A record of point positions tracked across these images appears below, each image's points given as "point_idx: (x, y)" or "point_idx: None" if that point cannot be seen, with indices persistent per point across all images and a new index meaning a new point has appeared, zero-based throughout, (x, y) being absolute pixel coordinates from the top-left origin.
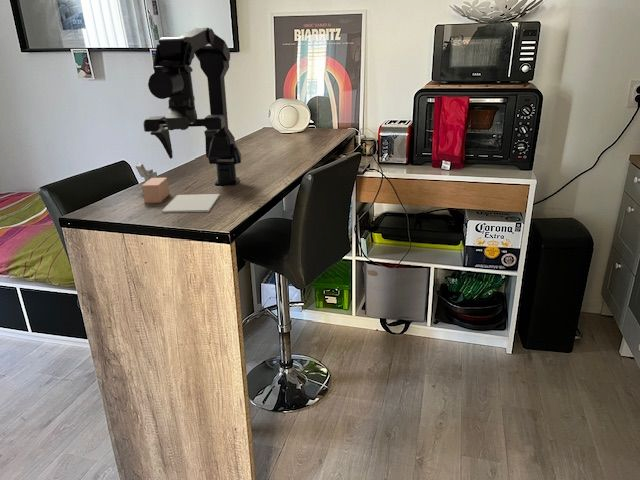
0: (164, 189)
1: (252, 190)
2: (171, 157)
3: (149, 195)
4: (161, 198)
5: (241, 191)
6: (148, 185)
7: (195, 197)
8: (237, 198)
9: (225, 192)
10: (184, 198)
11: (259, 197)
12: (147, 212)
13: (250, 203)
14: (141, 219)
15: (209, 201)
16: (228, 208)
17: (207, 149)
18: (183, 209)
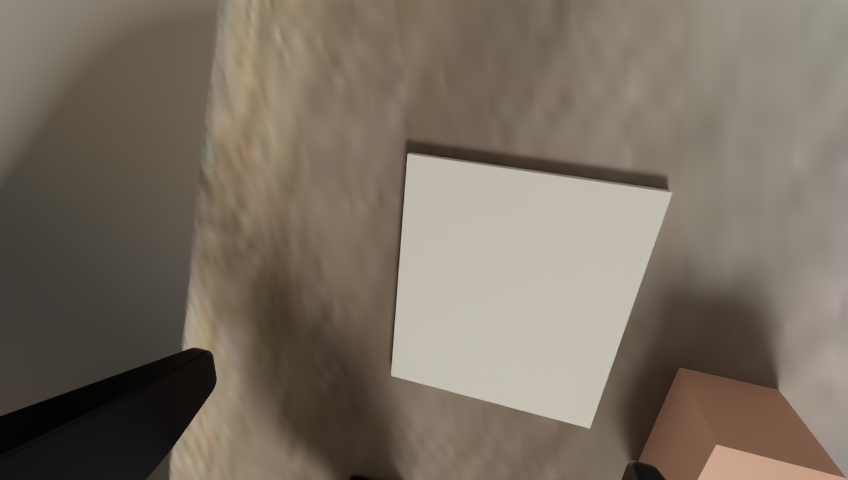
0: (664, 466)
1: (279, 392)
2: (631, 473)
3: (760, 411)
4: (677, 392)
5: (317, 395)
6: (790, 463)
7: (495, 363)
8: (315, 314)
9: (377, 404)
10: (549, 365)
11: (235, 301)
12: (766, 215)
13: (251, 234)
14: (818, 80)
15: (421, 285)
16: (327, 186)
17: (93, 393)
18: (542, 189)
